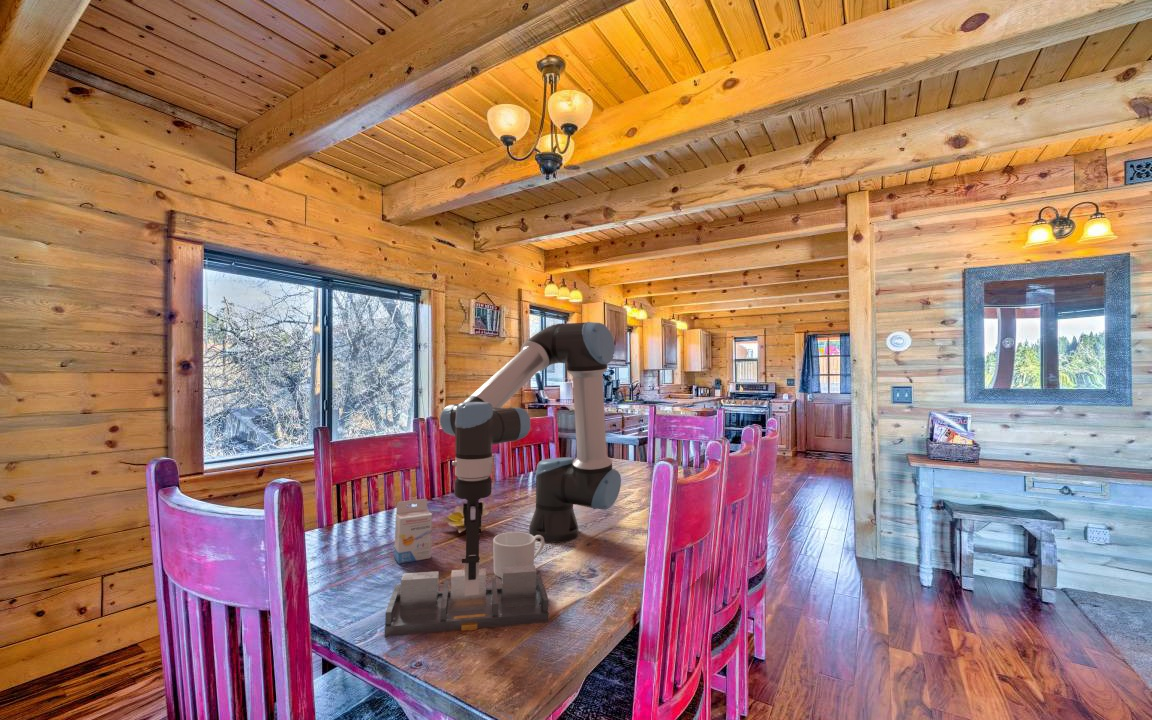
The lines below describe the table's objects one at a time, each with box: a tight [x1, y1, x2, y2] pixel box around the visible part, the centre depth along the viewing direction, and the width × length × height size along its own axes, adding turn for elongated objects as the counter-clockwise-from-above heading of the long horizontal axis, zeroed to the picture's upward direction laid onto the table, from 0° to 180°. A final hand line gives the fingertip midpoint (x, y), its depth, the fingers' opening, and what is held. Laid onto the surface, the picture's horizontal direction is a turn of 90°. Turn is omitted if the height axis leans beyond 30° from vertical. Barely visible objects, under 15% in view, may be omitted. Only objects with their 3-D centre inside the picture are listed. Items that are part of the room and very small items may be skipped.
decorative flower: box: [438, 500, 490, 534], centre depth 150 cm, size 15×11×10 cm
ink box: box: [393, 498, 433, 565], centre depth 127 cm, size 8×5×15 cm, turn 123°
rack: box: [383, 565, 550, 637], centre depth 99 cm, size 31×14×8 cm, turn 102°
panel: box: [450, 567, 487, 612], centre depth 99 cm, size 7×3×7 cm, turn 102°
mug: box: [492, 531, 545, 579], centre depth 121 cm, size 13×10×8 cm
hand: (471, 579), depth 100 cm, fingers open, 13 cm apart
